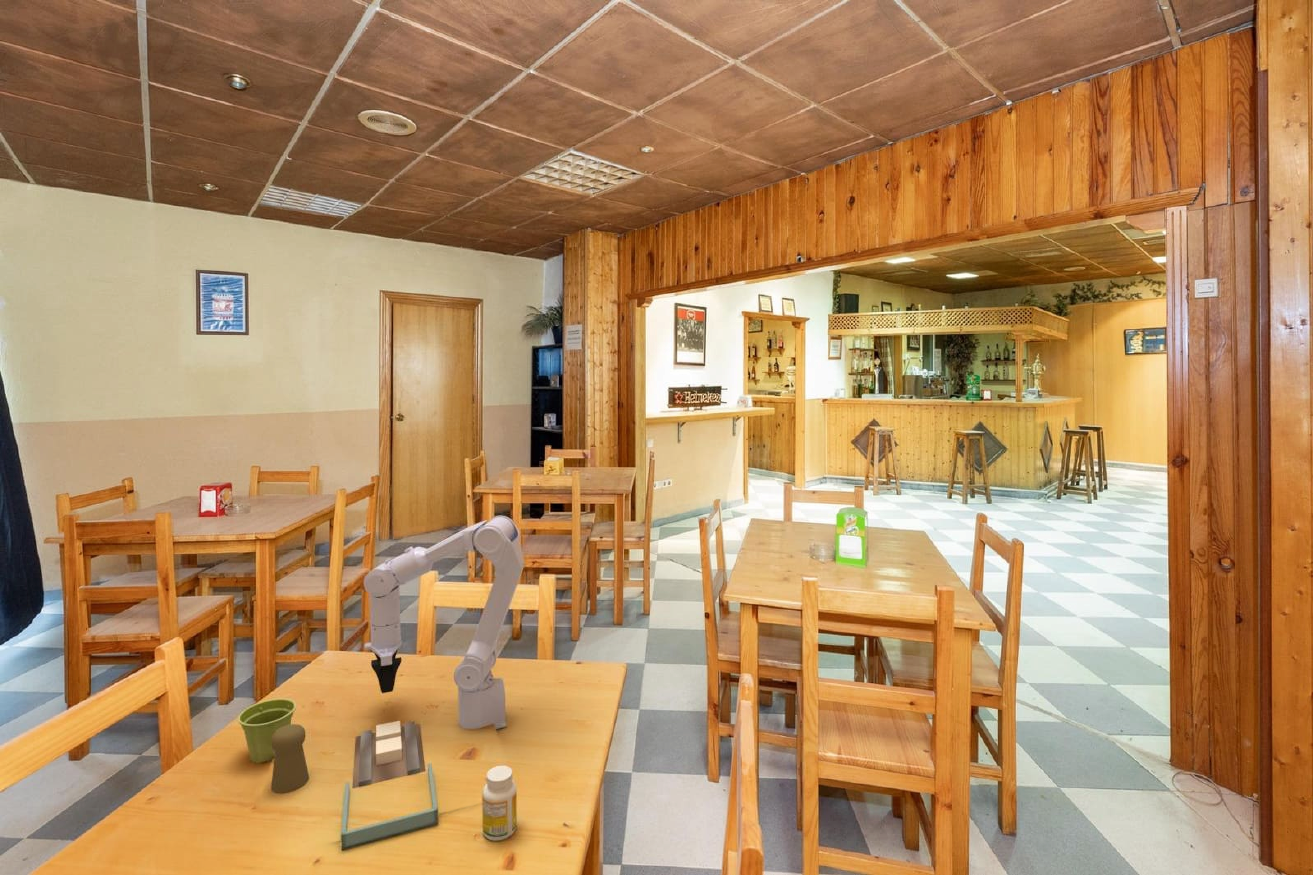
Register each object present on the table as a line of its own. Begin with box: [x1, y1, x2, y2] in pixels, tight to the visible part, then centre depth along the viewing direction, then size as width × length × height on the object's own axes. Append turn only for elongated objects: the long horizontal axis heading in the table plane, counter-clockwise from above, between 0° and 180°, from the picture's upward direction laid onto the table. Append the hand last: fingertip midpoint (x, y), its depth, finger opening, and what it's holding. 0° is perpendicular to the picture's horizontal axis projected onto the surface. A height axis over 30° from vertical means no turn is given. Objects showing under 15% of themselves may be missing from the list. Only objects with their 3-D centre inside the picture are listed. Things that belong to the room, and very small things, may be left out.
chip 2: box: [376, 736, 402, 765], centre depth 116 cm, size 4×4×2 cm
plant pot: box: [237, 698, 297, 764], centre depth 117 cm, size 9×9×9 cm
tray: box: [340, 762, 439, 851], centre depth 102 cm, size 14×13×2 cm
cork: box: [270, 723, 310, 795], centre depth 107 cm, size 6×6×11 cm
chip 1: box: [375, 720, 401, 741], centre depth 121 cm, size 4×4×2 cm
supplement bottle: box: [481, 765, 518, 842], centre depth 98 cm, size 5×5×10 cm
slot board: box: [351, 720, 426, 789], centre depth 117 cm, size 12×17×2 cm
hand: (387, 684), depth 128 cm, fingers open, 6 cm apart
